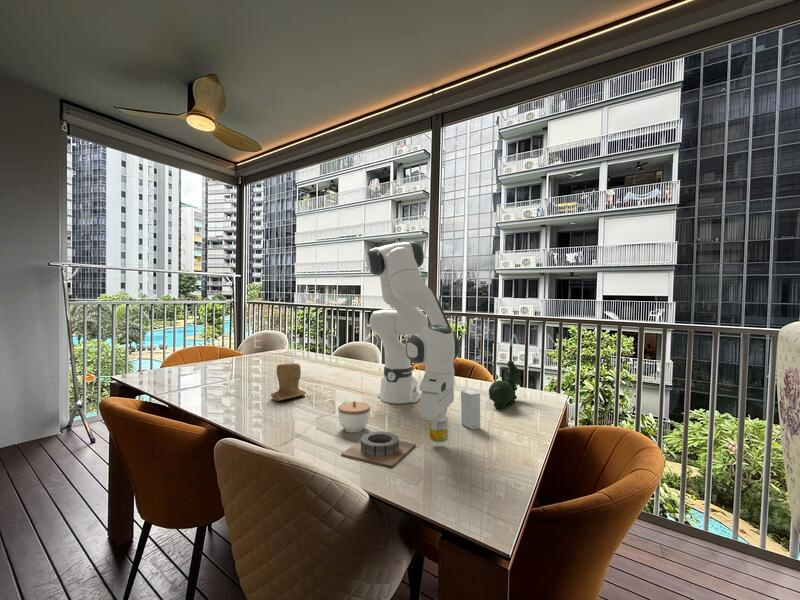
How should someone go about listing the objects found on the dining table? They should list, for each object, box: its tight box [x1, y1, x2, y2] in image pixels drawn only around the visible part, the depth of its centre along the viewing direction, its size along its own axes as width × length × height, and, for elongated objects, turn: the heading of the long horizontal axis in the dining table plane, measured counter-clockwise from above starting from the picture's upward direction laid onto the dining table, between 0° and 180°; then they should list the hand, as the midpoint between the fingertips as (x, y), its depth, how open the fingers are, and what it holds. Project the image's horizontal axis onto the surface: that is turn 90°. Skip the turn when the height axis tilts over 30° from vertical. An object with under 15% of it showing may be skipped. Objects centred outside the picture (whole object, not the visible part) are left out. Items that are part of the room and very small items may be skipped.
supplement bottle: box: [429, 409, 449, 444], centre depth 112 cm, size 5×5×10 cm
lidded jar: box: [337, 400, 371, 433], centre depth 126 cm, size 11×11×9 cm
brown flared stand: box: [270, 363, 307, 402], centre depth 162 cm, size 15×12×15 cm
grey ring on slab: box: [340, 430, 417, 469], centre depth 109 cm, size 16×16×4 cm
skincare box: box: [460, 389, 481, 430], centre depth 131 cm, size 6×4×12 cm
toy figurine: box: [488, 360, 519, 410], centre depth 157 cm, size 9×19×25 cm
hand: (438, 425), depth 112 cm, fingers closed on supplement bottle, 5 cm apart
